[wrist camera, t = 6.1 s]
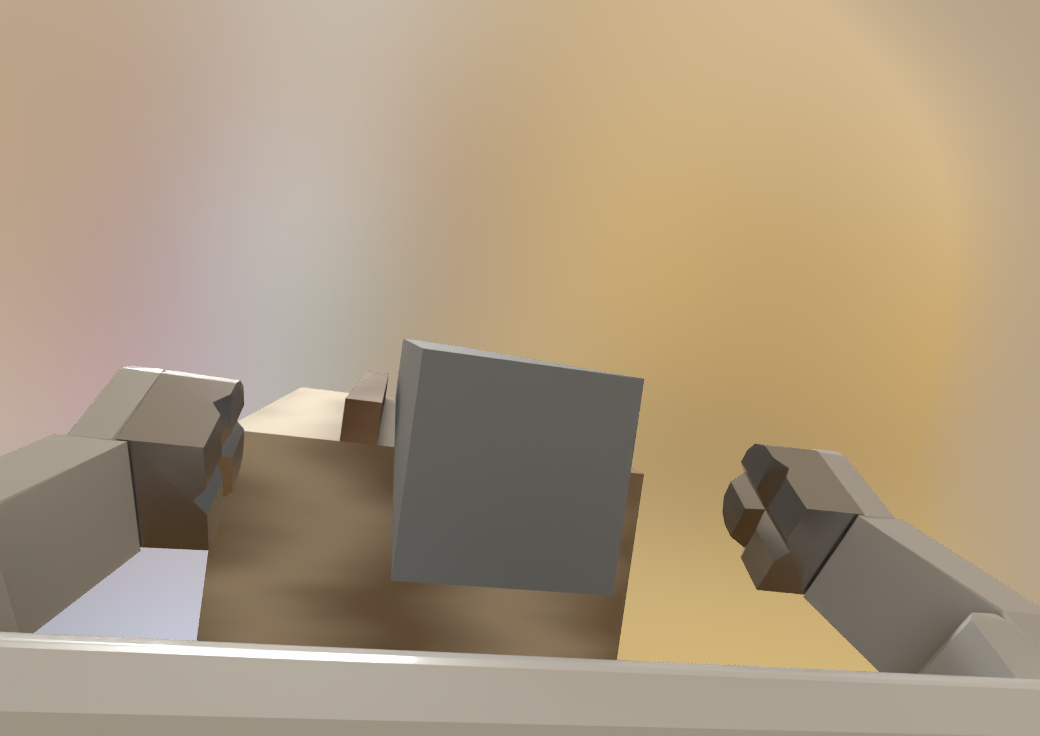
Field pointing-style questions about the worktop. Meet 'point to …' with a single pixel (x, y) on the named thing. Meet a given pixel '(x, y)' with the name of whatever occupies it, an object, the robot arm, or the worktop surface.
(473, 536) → the grey bar
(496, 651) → the tan streaked block
